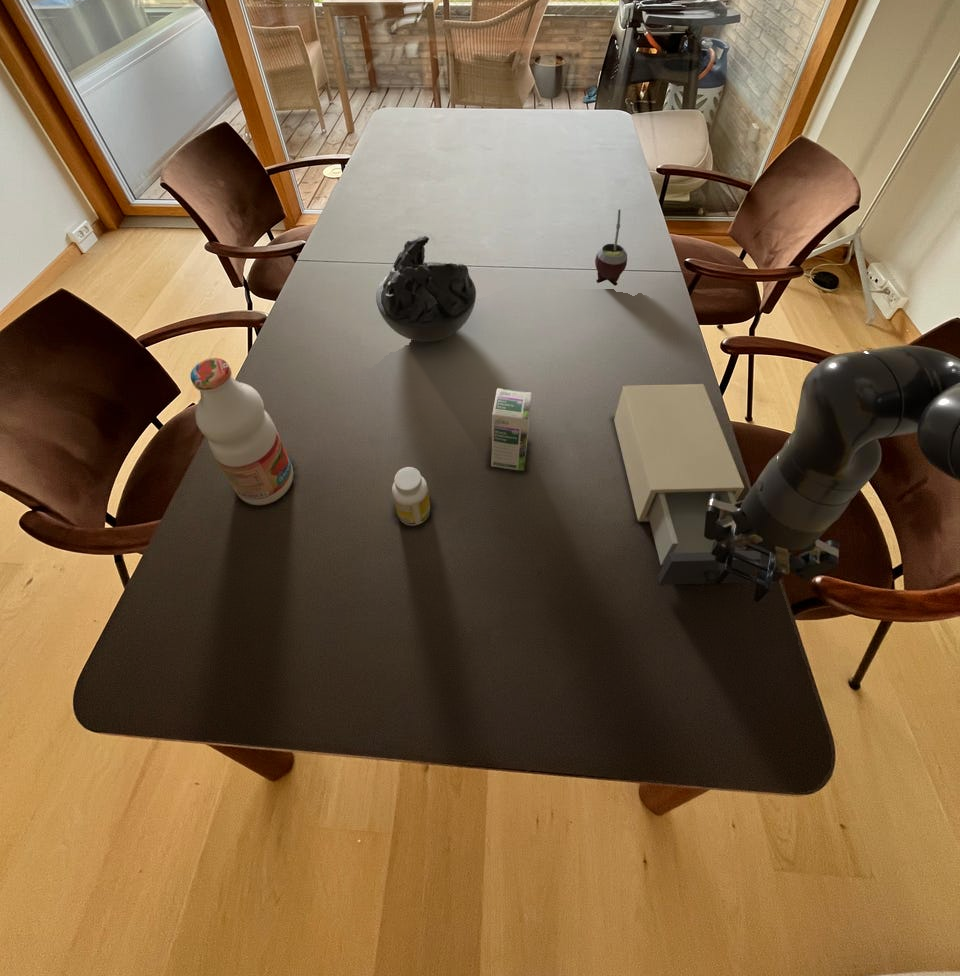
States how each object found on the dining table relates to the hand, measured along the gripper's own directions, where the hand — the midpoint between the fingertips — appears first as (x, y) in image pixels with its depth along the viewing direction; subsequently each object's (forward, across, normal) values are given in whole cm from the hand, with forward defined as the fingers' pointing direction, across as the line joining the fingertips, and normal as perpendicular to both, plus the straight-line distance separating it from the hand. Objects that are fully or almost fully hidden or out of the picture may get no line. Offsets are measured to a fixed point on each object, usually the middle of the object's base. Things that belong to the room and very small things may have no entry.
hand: (742, 564), depth 69 cm
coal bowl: (+16, +64, -32) cm, 73 cm away
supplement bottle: (+16, +45, +6) cm, 48 cm away
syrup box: (+16, +36, -11) cm, 41 cm away
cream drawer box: (+16, +11, -21) cm, 28 cm away
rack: (0, 0, 0) cm, 0 cm away
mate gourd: (+16, +36, -65) cm, 76 cm away
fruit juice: (+16, +70, +12) cm, 73 cm away
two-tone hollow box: (+15, +5, -11) cm, 19 cm away
